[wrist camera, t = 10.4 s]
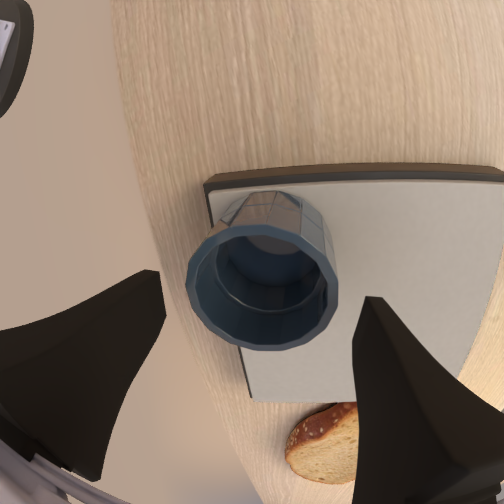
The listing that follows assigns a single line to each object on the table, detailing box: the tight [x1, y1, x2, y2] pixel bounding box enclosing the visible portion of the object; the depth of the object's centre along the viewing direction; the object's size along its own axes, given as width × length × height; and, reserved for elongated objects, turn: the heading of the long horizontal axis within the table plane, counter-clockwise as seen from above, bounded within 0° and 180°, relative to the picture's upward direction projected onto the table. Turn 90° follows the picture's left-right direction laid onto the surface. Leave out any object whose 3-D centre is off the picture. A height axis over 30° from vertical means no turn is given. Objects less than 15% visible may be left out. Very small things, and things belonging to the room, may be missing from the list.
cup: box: [185, 190, 339, 351], centre depth 13 cm, size 6×6×4 cm
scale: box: [203, 163, 504, 403], centre depth 17 cm, size 17×17×3 cm
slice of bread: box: [285, 401, 359, 484], centre depth 26 cm, size 18×18×4 cm
